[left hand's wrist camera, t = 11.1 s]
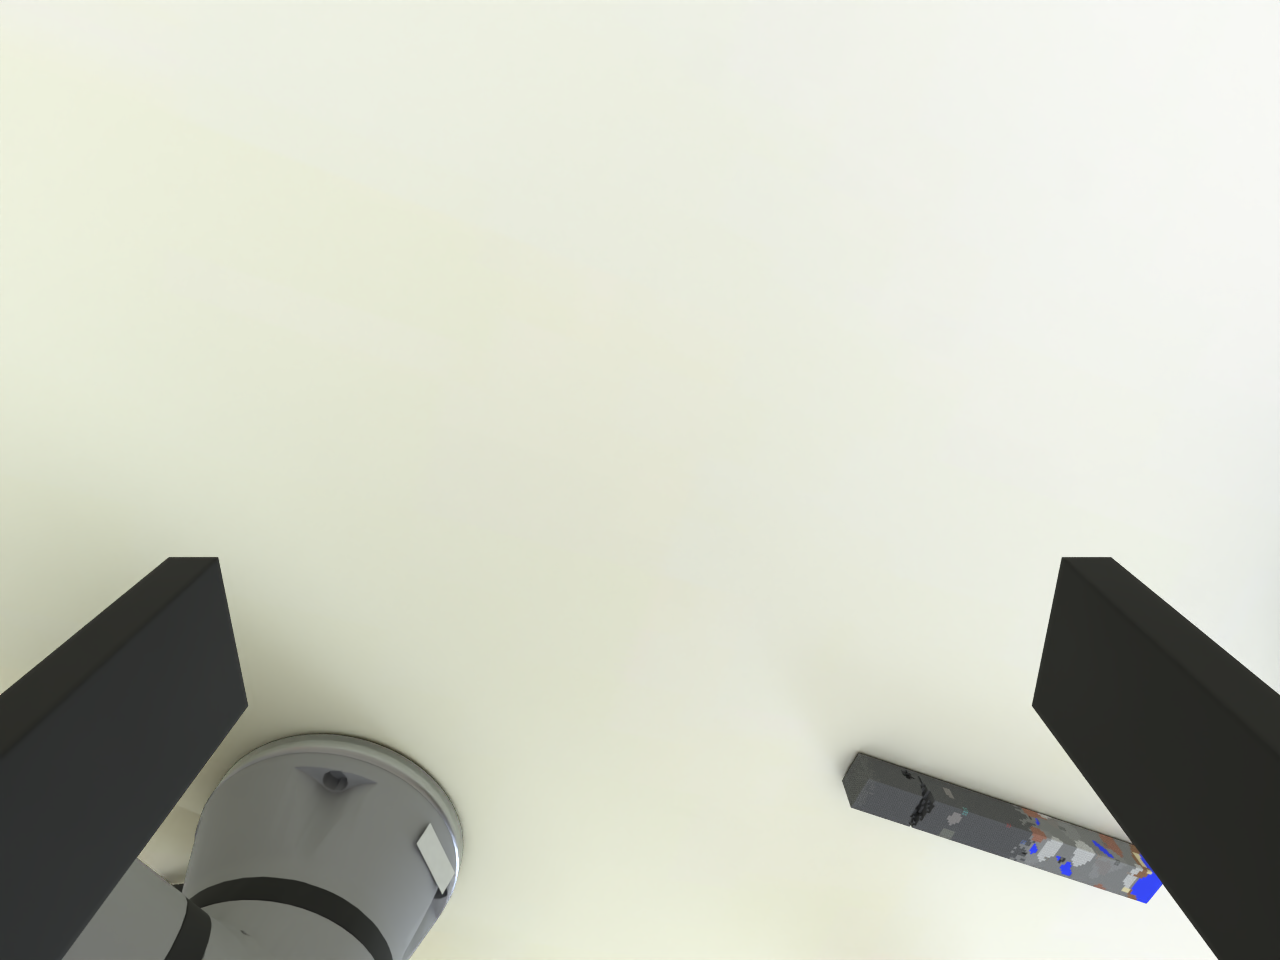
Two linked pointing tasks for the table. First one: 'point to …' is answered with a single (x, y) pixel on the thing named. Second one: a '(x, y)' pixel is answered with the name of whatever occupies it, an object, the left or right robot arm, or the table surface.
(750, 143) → the table surface
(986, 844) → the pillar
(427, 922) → the left robot arm
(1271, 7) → the table surface
